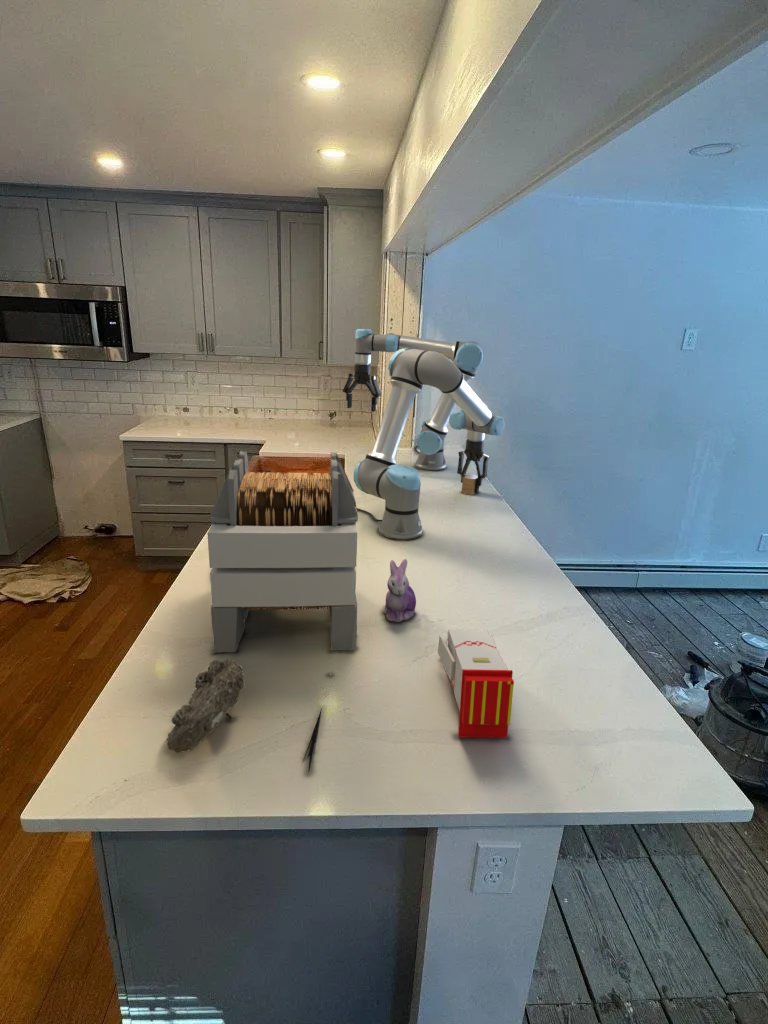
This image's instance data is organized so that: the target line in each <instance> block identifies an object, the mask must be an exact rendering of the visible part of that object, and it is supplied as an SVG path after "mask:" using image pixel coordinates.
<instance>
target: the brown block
mask: <svg viewBox="0 0 768 1024" xmlns="http://www.w3.org/2000/svg"><path fill="white" fill-rule="evenodd" d="M465 475H466V476H464V477H463V482H462V484H461V491H460V492H461V494H464V495H469V496H474V495H476V493H475V487H476V479H477V478H478V475H476V474H473V473H468V474H465Z"/></svg>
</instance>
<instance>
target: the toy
mask: <svg viewBox="0 0 768 1024" xmlns="http://www.w3.org/2000/svg"><path fill="white" fill-rule="evenodd" d="M446 640H447V643H446V641H445V639H444V636H443V635H442V634H439V637H438V646H437V656H438V657H439V659H440V661H441V663H442V666H443V668H444V670H445V672H446V674H447V677H448V679H449V681H450V684H451V687H452V690H453V693H454V697H455V701H456V705H457V708H458V711H459V714H458V715H459V716H458V730H457V731H458V732H457V737H458V738H508V731H509V726H510V725H511V717H512V707H513V697H514V696H513V695H514V684H515V680H514V679H513V673H514V671H513V670H512V669H508V667H507V665H506V662H505V661H504V659H503V658H502V655H501V653H500V651H499V649H498V647H497V643H496V639H495V637H494V635H493V634H491V632H490V631H489V629H467V628H466V629H465V628H463V629H461V628H460V629H459V628H448V630H447V639H446Z"/></svg>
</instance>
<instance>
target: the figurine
mask: <svg viewBox="0 0 768 1024" xmlns="http://www.w3.org/2000/svg"><path fill="white" fill-rule="evenodd" d="M407 567H408V559H406V558H404V559H403V560H402V561H401V563H400V565H399V566H398V565H397V563H396V562H395V561H394V560H393V559H391V560H390V561H389V570H390V576H389V578H388V579H387V589H388V591H387V592H386V594H385V595H386V596H385V607H384V615H385V616H386V620H387V621H391V622H395V623H400V622H402V621H406V620H409V619H410V618H411V617H413V616H414V615H415V610H416V606H417V597H416V593H415V591H414V590H413V587H411V586H410V582H409V579H408V577H407V574H406V571H407Z"/></svg>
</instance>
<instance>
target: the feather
mask: <svg viewBox="0 0 768 1024" xmlns="http://www.w3.org/2000/svg"><path fill="white" fill-rule="evenodd" d="M329 675H330V676H331V675H332V674H331V673H330V674H329ZM322 710H323V707H321V708H320V710H319V713H318V716H317V719H316V723H315V725H314V728H313V731H312V733H311V737H310V739H309V742H308V745H307V748H306V751H305V754H304V757H303V760H302V763H301V767H302V765H303V763H304V761H305V758H308V759H309V760H308V762H307V763H308V764H307V766H308V771H310V770H311V766H312V765H311V764H312V760H313V757H315V756H314V755H315V751H316V749H315V746H317V739H318V733H319V729H320V722H321V717H322V712H323V711H322ZM313 754H314V755H313ZM306 755H307V757H306Z"/></svg>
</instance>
